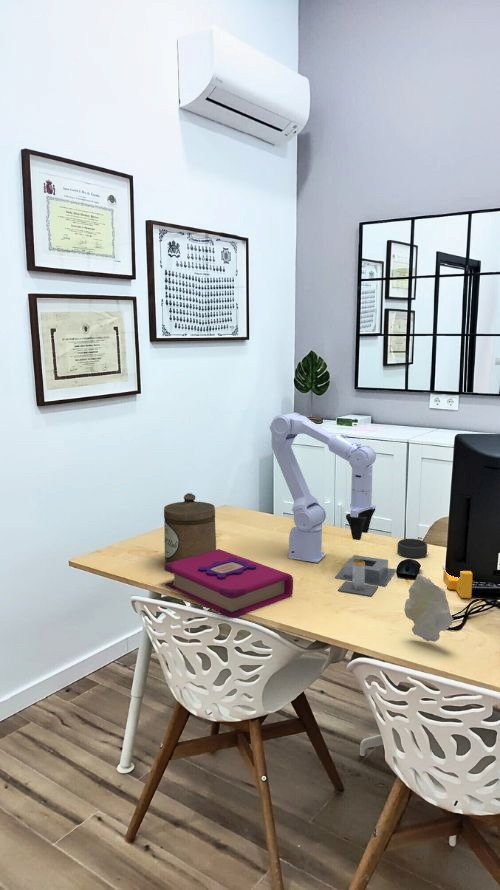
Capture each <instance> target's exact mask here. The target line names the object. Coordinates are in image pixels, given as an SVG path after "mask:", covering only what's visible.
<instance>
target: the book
mask: <svg viewBox="0 0 500 890" xmlns="http://www.w3.org/2000/svg"><path fill="white" fill-rule="evenodd" d="M164 571H166V572H167V573H171V574H173V580H172V581H168V582H166V583H165V584H164V585H165V587H167V588H169V589H171V590H174V591H176V592H178V593H180V594H182V595H184V596H186V597H189V598H190V599H192V600H194V601H197V602H198V603H200V604H203V605H204V606H206V607H207V608H209V609H212V610H214V611H216V612H218V613H220V614H221V615H223V616H226V617H227V618H230V617H231V618H230V619H236V618H239V617H241V616H245V615H246V614H249V613H252V612H254V611H256V610H259V609H262V608H264V607H267V606H270V605H273V604H276V603H278V602H280V601H283V600H286V599H289V598H291V597H292V596H293V593H294V592H293V591H294V578H293V577H294V576H292V574H290V573H286V572H284V571H282V570H278V569H275V568H273V567H270V566H267V565H265V564H262V563H259V562H256V561H253V560H250V559H247V558H245V557H243V556H239V555H236V554H233V553H231V552H228V551H226V550H222V549H220V548H218V549H217V548H216V550H214V551H210V552H206V553H203V554H199V555H196V556H192V557H188V558H185V559H181V560H178V561H174V562H173V561H172V562H169V563H166V564H165V563H164Z"/></svg>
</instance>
